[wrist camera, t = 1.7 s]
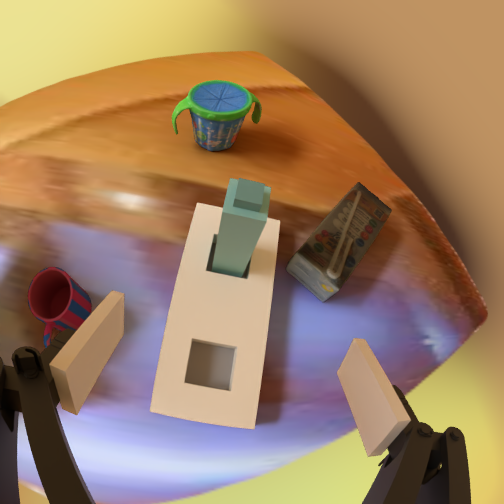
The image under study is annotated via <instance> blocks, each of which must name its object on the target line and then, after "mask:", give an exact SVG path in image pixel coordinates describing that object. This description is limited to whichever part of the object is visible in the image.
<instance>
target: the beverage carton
mask: <svg viewBox="0 0 504 504" xmlns="http://www.w3.org/2000/svg"><path fill="white" fill-rule="evenodd" d="M391 211H392V210H391V209H390V208H389V207H388V206H387V205H385V204H384V203H383V202H382V201H381V200H379V198H378V197H377V196H375V195H374V194H373V193H371V192H370V191H369V190H368V189H367V188H366V187H365V186H363V185H362V184H361V183H360V182H358V183H357V184H356V185H355V186H354V187H353V188H352V189H351V190H350V191H349V192H348V193H347V194H346V195H345V196H344V197H343V198H342V199H341V201H340V202H339V203H338V204H337V205H336V206H335V207H334V208H333V210H332V211H331V212H330V213H329V214H328V215H327V216H326V218H325V219H324V220H323V221H322V222H321V224H320V225H319V226H318V227H317V229H316V230H315V231H314V232H313V233H312V235H311V236H310V237H309V238H308V240H307V241H306V242H305V243H304V244H303V245H302V246H301V247H300V248H299V250H298V251H297V252H296V253H295V254H294V255H293V257H292V258H291V260H290V261H289V262H288V265H287V267H286V271H287V272H289V273H290V274H291V275H292V276H293V277H295V278H296V279H297V280H298V281H299V282H300V283H302V284H303V285H304V286H305V287H306V288H307V289H308V290H309V291H310V292H312V293H313V294H314V295H315V296H316V297H317V298H318V299H319V300H321V301H322V302H325V301H326V300H327V299H329V298H330V297H331V296H333V295H334V294H336V293H337V292H338V291H339V290H340V288H341V287H342V285H343V284H344V283H345V282H346V281H347V279H348V278H349V276H350V275H351V273H352V272H353V271H354V269H355V268H356V266H357V265H358V263H359V262H360V260H361V259H362V258H363V256H364V255H365V253H366V252H367V250H368V249H369V247H370V246H371V244H372V243H373V241H374V240H375V238H376V237H377V235H378V233H379V232H380V230H381V229H382V227H383V225H384V224H385V222H386V220H387V219H388V217H389V215H390V213H391Z"/></svg>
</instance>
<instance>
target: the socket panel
mask: <svg viewBox="0 0 504 504" xmlns="http://www.w3.org/2000/svg"><path fill="white" fill-rule="evenodd" d="M222 211H223V208H220V207H215V206H211V205H206V204H201V203H197V206H196V209H195V212H194V216H193V219H192V223H191V226H190V230H189V234H188V237H187V241H186V245H185V248H184V252H183V256H182V260H181V264H180V267H179V271H178V275H177V279H176V283H175V288H174V292H173V296H172V300H171V305H170V309H169V313H168V318H167V322H166V327H165V332H164V336H163V341H162V346H161V351H160V356H159V361H158V366H157V372H156V377H155V383H154V389H153V394H152V400H151V407H150V411H151V412H155V413H159V414H163V415H167V416H172V417H176V418H181V419H186V420H191V421H197V422H203V423H209V424H215V425H222V426H229V427H238V428H247V429H254V428H255V422H256V415H257V408H258V401H259V394H260V387H261V379H262V372H263V365H264V357H265V349H266V341H267V334H268V326H269V317H270V309H271V301H272V292H273V283H274V274H275V265H276V256H277V247H278V237H279V227H280V221H279V220H275V219H270V218H267V222H266V224H265V227H264V229H263V231H262V233H261V235H260V238H259V240H258V242H257V244H256V246H255V249H254V251H253V253H252V255H251V258H250V260H249V262H248V264H247V266H246V269H245V271H244V273H243V275H242V277H241V278H239V277H234V276H229V275H224V274H219V273H214V272H211V271H212V265H213V260H214V254H215V248H216V243H217V237H218V232H219V226H220V221H221V216H222Z"/></svg>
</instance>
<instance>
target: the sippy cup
mask: <svg viewBox="0 0 504 504" xmlns="http://www.w3.org/2000/svg"><path fill="white" fill-rule="evenodd" d="M253 102H256V103H255V108H254V111H253V114H252V121H253V122H254V123H256V124H257V123H258V122H259V120H260V117H261V110H262V109H261V104H260V102H259V100H258V99H257V98H256V97H255V95H253V94H252V93H250V92H248V90H246V89H245V88H244V87H242V86H240V85H238V84H236V83H232V82H228V81H222V80H213V81H206V82H202V83H200V84H197V85H196V86H194V87H193V88H192V89H191V90H190V91H189V94H188V96H187V97H186V98H185V99H183V100H182V101H181V102H179V104H178V105H177V106H176V108H175V110H174V112H173V115H172V124H173V127H174V130H175V133H176V134H178V130H177V125H176V118H177V116H178V115H179V114H180V113H181V112H182V111H183V110H185V109H189V110H190V114H191V118H192V124H193V132H194V137H195V141H196V142H197V143H198V144H199V145H200V146H201V147H203V148H205V149H207V150H209V151H220V150H224V149H226V148H230V147H231V146H232V144H233V143H234V142H235V140H236V138H237V135H238V133H239V130H240V127H241V126H242V123H243V121H244V118H245V115H246V114H247V113H248V112H249V110H250V109H251V105H252V103H253Z"/></svg>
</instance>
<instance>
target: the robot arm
mask: <svg viewBox="0 0 504 504" xmlns="http://www.w3.org/2000/svg"><path fill="white" fill-rule="evenodd" d="M123 335H124V293H120V292H116V291H113V290H112V291H111V292H110V293H109V294H108V295H107V297H106V298H105V299H104V300H103V301H102V302H101V303H100V304H99V305H98V307H97V308H96V309H95V310H94V311H93V312H92V313H91V315H90V316H89V317H88V318H87V319H86V320H85V321H84V323H83V324H82V325H81V326H80V327H79V329H78V330H77V331H74V330H71V329H69V328H67V329H66V330H64V331H62V332H60V333H59V334H58V335H57V336H56V337H55V338H54V340H53V341H52V342H51V343H50V345H48V346H47V347H46V349H45V350H44V351H43V352H42V353H41V354H40V353H39V351H37V350H36V349H35V348H32V347H21V348H18V349H17V350H15V352H14V353H13V354H12V361H13V365H14V367H10V366H6V365H4V364H3V361H2V359H1V358H0V504H20V498H19V488H18V472H17V432H18V416H19V412H22V413H23V418H24V423H25V427H26V432H27V436H28V440H29V444H30V447H31V451H32V455H33V458H34V461H35V465H36V468H37V471H38V474H39V477H40V480H41V482H42V485H43V488H44V490H45V493H46V496H47V498H48V500H49V503H50V504H96V503H95V501H94V500H93V498H92V496H91V494H90V492H89V490H88V488H87V486H86V484H85V482H84V480H83V477H82V475H81V473H80V471H79V469H78V466H77V464H76V462H75V459H74V457H73V454H72V452H71V449H70V447H69V444H68V441H67V439H66V436H65V433H64V430H63V427H62V424H61V421H60V418H59V415H58V411H57V408H56V406H57V405H58V403H59V401H60V403H61V406H62V409H64V410H66V411H68V412H70V413H73V414H75V415H78V413H79V411H80V409H81V407H82V405H83V403H84V402H85V400H86V398H87V396H88V394H89V393H90V391H91V389H92V387H93V385H94V384H95V382H96V380H97V378H98V377H99V375H100V373H101V371H102V370H103V368H104V366H105V365H106V363H107V361H108V360H109V358H110V356H111V355H112V353H113V351H114V350H115V348H116V346H117V345H118V343H119V341H120V340H121V338H122V336H123ZM337 375H338V377H339V380H340V382H341V385H342V388H343V390H344V393H345V395H346V398H347V401H348V403H349V406H350V409H351V411H352V414H353V417H354V419H355V422H356V425H357V428H358V430H359V433H360V436H361V438H362V441H363V444H364V447H365V450H366V452H367V455H368V457H370V456H378V455H381V454H382V453H383V452H384V451H385V450H386V449H387V448H388V451H389V454H388V455H387V456H386V457H385V458H384V459H383V460H382V461H381V462H380V463H379V465H378V466H380V465H381V464H383V465H382V466H381V469H380V471H379V473H378V475H377V477H376V479H375V481H374V482H373V484H372V486H371V488H370V490H369V492H368V494H367V495H366V497H365V499H364V501H363V502H362V504H471V493H470V478H469V468H468V459H467V452H466V445H465V439H464V435H463V433H462V432H461V431H460V430H459V429H458V428H455V427H449V428H447V429H446V431H445V432H444V433H438V432H434V431H433V429H432V428H431V427H430V426H429V425H427V424H426V423H422V422H419V421H418V419H417V418H416V416H415V414H414V412H413V410H412V409H411V407H410V405H408V402H407V400H406V399H405V396H404V395H403V393H402V391H401V390H400V389H399V388H398V387H397V386H395V385H391V383H390V381H389V380H388V378H387V376H386V374H385V373H384V371H383V369H382V367H381V366H380V364H379V362H378V361H377V359H376V357H375V355H374V354H373V352H372V350H371V349H370V347H369V345H368V344H367V342H366V340H365V339H358V338H354V339H353V341H352V343H351V346H350V348H349V350H348V352H347V354H346V356H345V358H344V360H343V362H342V364H341V366H340V368H339V370H338V372H337ZM441 464H442V467H441V468H440V465H441Z"/></svg>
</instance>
